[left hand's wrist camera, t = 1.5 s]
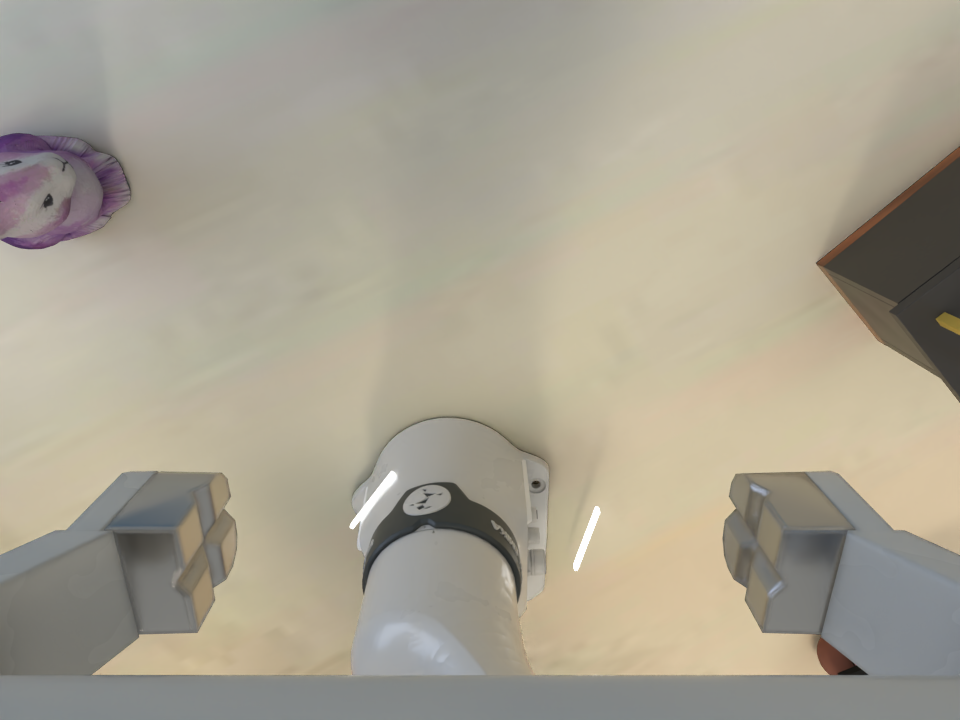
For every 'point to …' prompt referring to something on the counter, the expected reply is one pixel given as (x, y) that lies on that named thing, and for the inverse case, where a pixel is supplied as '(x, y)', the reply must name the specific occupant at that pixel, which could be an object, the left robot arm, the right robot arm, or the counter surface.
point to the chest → (900, 253)
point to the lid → (936, 323)
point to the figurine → (55, 189)
